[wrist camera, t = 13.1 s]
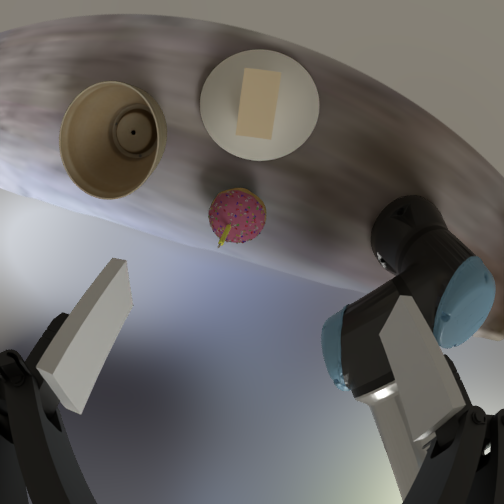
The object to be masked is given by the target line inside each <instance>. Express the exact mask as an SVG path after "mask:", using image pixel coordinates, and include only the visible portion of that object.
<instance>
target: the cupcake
mask: <svg viewBox="0 0 504 504" xmlns="http://www.w3.org/2000/svg"><path fill="white" fill-rule="evenodd" d="M208 217H209V222H210V226H211V227H212V229H213V232H214V233H215V234H216V236H218V237H219V239H220V240H219V243H218V244H219V246H218V248H219V247H220V245H221V246H222V245H223V244H224V241H226V242H236V243H237V242H239V243H240V242H241V243H242V242H243V243H244V242H246V241H248V240H252V239H253V238H255V237H256V236H258V234H260V232H261V230H262V229H263V227H264V224H265V221H266V208H265V205H264V203H263V201H262V200H261V199H260V198H259V197H258V196H256V195H255V194H253V193H252V192H250V191H249V190H248V189H245V188H233V189H229V190H225V191H222V192H220V193H219V194H218V195H217V196H216V198H215V199H214V201H213V202H212V205H211V207H210V208H209V216H208Z"/></svg>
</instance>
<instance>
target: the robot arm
mask: <svg viewBox="0 0 504 504" xmlns="http://www.w3.org/2000/svg"><path fill="white" fill-rule="evenodd" d="M371 244H372V249H373V252H374V255H375V256H376V258H377V260H378V261H379V263H380V264H381V265H382V266H383V267H384V268H385V269H386V270H387V271H389V272H391V273H392V274H394V275H396V277H394V278H393V279H391V280H389V281H388V282H386V283H385V284H383V285H381V286H380V287H378V288H377V289H375V290H373V291H372V292H370V293H369V294H367V295H365V296H364V297H362V298H360V299H359V300H357V301H355V302H354V303H352V304H350V305H349V304H348V305H346V306H345V307H344V308H343V309H342V310H340V311H339V312H337V313H336V314H334V315H333V316H331V317H330V318H328V319H327V320H326V322H325V323H324V325H323V328H322V334H321V344H322V352H323V357H324V361H325V364H326V367H327V370H328V373H329V375H330V377H331V379H333V380H334V384H335V385H336V386H337V388H338V389H340V390H342V391H349V390H351V391H352V393H353V395H354V398H355V400H357V401H360V402H363V403H366V404H367V405H369V407H370V409H371V412H372V415H373V417H374V419H375V422H376V425H377V428H378V430H379V433H380V436H381V438H382V441H383V444H384V447H385V450H386V452H387V455H388V458H389V461H390V464H391V467H392V470H393V472H394V475H395V478H396V481H397V484H398V487H399V491H400V494H401V497H402V500H403V503H402V504H504V409H501V410H500V411H499V412H498V413H497V414H495V415H486V414H485V412H484V411H483V409H482V408H480V407H478V406H473V405H472V404H471V401H470V399H469V397H468V394H467V392H466V390H465V387H464V385H463V383H462V381H461V380H460V376H459V374H458V373H457V370H456V368H455V366H454V364H453V362H452V361H451V360H450V358H449V357H448V356H447V355H443V353H442V351H441V349H440V347H439V346H441V347H443V348H447V349H448V348H452V347H453V346H454V347H455V346H458V345H460V344H462V343H464V342H465V341H466V340H467V339H469V338H470V337H471V336H472V335H473V334H474V333H475V332H476V331H477V330H478V329H479V328H480V326H481V325H482V324H483V322H484V321H485V319H486V318H487V316H488V314H489V312H490V310H491V307H492V305H493V302H494V298H495V281H494V278H493V276H492V274H491V273H490V271H489V270H488V269H487V268H486V267H485V265H484V264H483V262H482V260H481V259H480V258H479V257H478V256H476V255H475V254H474V253H473V252H472V251H471V250H470V249H469V248H468V247H466V246H465V245H464V244H463V243H462V242H461V241H460V240H459V239H458V238H457V237H456V236H454V235H453V234H452V233H451V232H450V231H449V230H448V228H447V226H446V224H445V222H444V220H443V218H442V215H441V213H440V212H439V210H438V209H437V208H436V207H435V206H434V205H433V204H432V203H430V202H429V201H428V200H426V199H425V198H422V197H419V196H405V197H402V198H399V199H397V200H395V201H393V202H392V203H391V204H389V205H388V206H387V207H386V208H385V209H384V210H383V211H382V212H381V214H380V215H379V217H378V218H377V220H376V222H375V224H374V227H373V231H372V237H371ZM132 307H133V301H132V295H131V288H130V282H129V275H128V269H127V261H126V260H121V259H116V258H112V259H111V260H110V262H109V263H108V264H107V265H106V267H105V268H104V269H103V270H102V272H101V273H100V274H99V276H98V277H97V278H96V279H95V281H94V282H93V283H92V285H91V286H90V287H89V289H88V290H87V291H86V292H85V294H84V295H83V296H82V298H81V299H80V301H79V302H78V303H77V305H76V306H75V307H74V309H73V310H72V312H71V313H70V315H69V314H66V313H61V314H60V315H58V316H57V317H56V318H54V319H53V321H52V322H51V323H50V325H49V326H48V328H47V330H45V332H44V333H43V335H42V337H41V338H40V339H39V341H38V342H37V344H36V345H35V347H34V348H33V350H32V351H31V353H30V355H29V356H28V358H27V359H26V361H25V362H24V360H23V359H22V357H21V355H20V354H19V353H18V352H17V351H15V350H6V351H4V352H1V353H0V504H29V503H28V497H27V492H26V487H27V491H28V493H29V496H30V499H31V501H32V503H33V504H97V503H96V501H95V499H94V497H93V495H92V493H91V491H90V489H89V487H88V485H87V483H86V481H85V479H84V477H83V474H82V472H81V470H80V467H79V465H78V463H77V460H76V458H75V455H74V453H73V450H72V447H71V445H70V442H69V439H68V436H67V433H66V431H65V427H64V424H63V421H62V418H61V414H60V411H59V409H58V407H57V406H58V404H59V402H61V403H62V404H63V405H64V407H65V408H67V409H69V410H72V411H74V412H76V413H78V414H82V411H83V409H84V407H85V404H86V402H87V400H88V397H89V395H90V393H91V390H92V388H93V386H94V384H95V381H96V379H97V377H98V375H99V373H100V371H101V368H102V366H103V364H104V362H105V360H106V358H107V356H108V354H109V352H110V350H111V348H112V346H113V344H114V342H115V340H116V338H117V336H118V334H119V332H120V330H121V328H122V326H123V324H124V322H125V320H126V318H127V316H128V314H129V313H130V311H131V309H132ZM490 446H491V451H490V452H489V453H488V454H486V455H485V454H484V450H486V449H487V448H489V447H490Z"/></svg>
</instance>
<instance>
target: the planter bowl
mask: <svg viewBox="0 0 504 504" xmlns="http://www.w3.org/2000/svg"><path fill="white" fill-rule="evenodd" d="M133 130H134V131H136V133H135V134H134V135H133V134H132V131H133ZM166 141H167V126H166V121H165V117H164V114H163V112H162V110H161V108H160V106H159V105H158V103H157V102H156V101H155V100H154V99H153V98H152V97H151V96H150V95H149V94H148V93H146V92H145V91H143V90H141V89H139V88H137V87H135V86H132V85H129V84H126V83H123V82H118V81H105V82H100V83H97V84H94V85H92V86H90V87H88V88H86V89H85V90H83V91H82V92H81V93H80V94H79V95H78V96H77V97H76V98H75V99H74V100H73V101H72V103H71V104H70V106H69V107H68V109H67V111H66V113H65V115H64V117H63V120H62V124H61V128H60V134H59V148H60V154H61V159H62V162H63V165H64V167H65V170H66V172H67V174H68V175H69V177H70V178H71V180H72V181H73V182H74V183H75V184H76V186H78V187H79V188H80V189H81V190H82V191H84V192H85V193H87V194H89V195H91V196H93V197H96V198H100V199H118V198H122V197H125V196H127V195H129V194H131V193H132V192H134V191H135V190H137V189H138V188H139V187H140V186H141V185H142V184H143V183H144V182H145V181H146V180H147V179H148V177H149V176H150V175H151V174H152V172H153V171H154V170H155V168H156V167H157V165H158V164H159V162H160V160H161V158H162V155H163V153H164V150H165V146H166Z"/></svg>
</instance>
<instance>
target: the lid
mask: <svg viewBox="0 0 504 504" xmlns="http://www.w3.org/2000/svg"><path fill="white" fill-rule="evenodd" d="M319 107H320V106H319V96H318V91H317V88H316V85H315V83H314V81H313V79H312V78H311V76H310V75H309V73H308V72H307V71H306V70H305V69H304V68H303V66H301V65H300V64H299V63H298V62H297V61H295V60H294V59H292V58H290V57H288V56H286V55H284V54H282V53H279V52H276V51H271V50H262V49H257V50H248V51H243V52H240V53H237V54H234V55H232V56H230V57H228V58H227V59H225V60H224V61H222V62H221V63H220V64H219V65H217V66H216V67H215V68H214V70H213V71H212V72H211V73H210V75H209V76H208V78H207V79H206V81H205V83H204V86H203V89H202V92H201V97H200V113H201V117H202V121H203V124H204V126H205V128H206V130H207V132H208V134H209V135H210V136H211V138H212V139H213V140H214V141H215V142H216V143H217V144H218V145H219V146H220V147H221V148H223V149H224V150H226V151H227V152H229V153H231V154H233V155H235V156H237V157H240V158H243V159H248V160H256V161H265V160H272V159H277V158H280V157H283V156H285V155H288V154H290V153H291V152H293V151H295V150H296V149H297V148H299V147H300V146H301V145H302V144H303V143H304V142H305V141H306V140H307V139H308V138H309V136H310V135H311V133H312V131H313V130H314V128H315V125H316V123H317V120H318V116H319Z"/></svg>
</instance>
